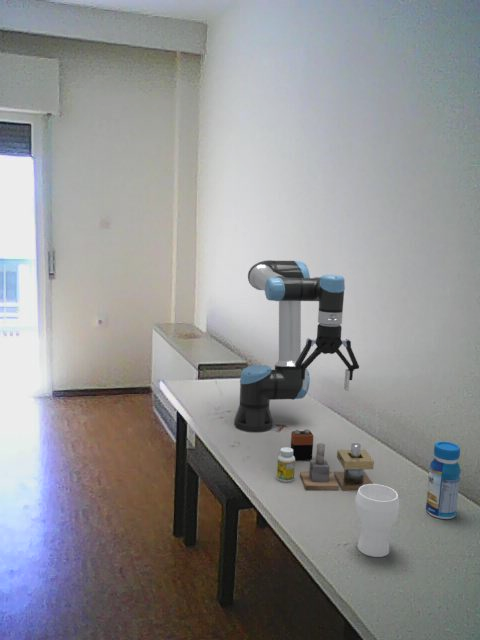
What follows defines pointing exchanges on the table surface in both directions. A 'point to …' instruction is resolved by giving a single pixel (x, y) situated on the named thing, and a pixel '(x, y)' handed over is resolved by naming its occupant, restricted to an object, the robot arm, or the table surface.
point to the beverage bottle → (444, 481)
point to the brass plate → (355, 460)
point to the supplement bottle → (286, 465)
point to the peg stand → (352, 473)
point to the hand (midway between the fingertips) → (325, 389)
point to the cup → (376, 517)
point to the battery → (302, 444)
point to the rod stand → (319, 473)
